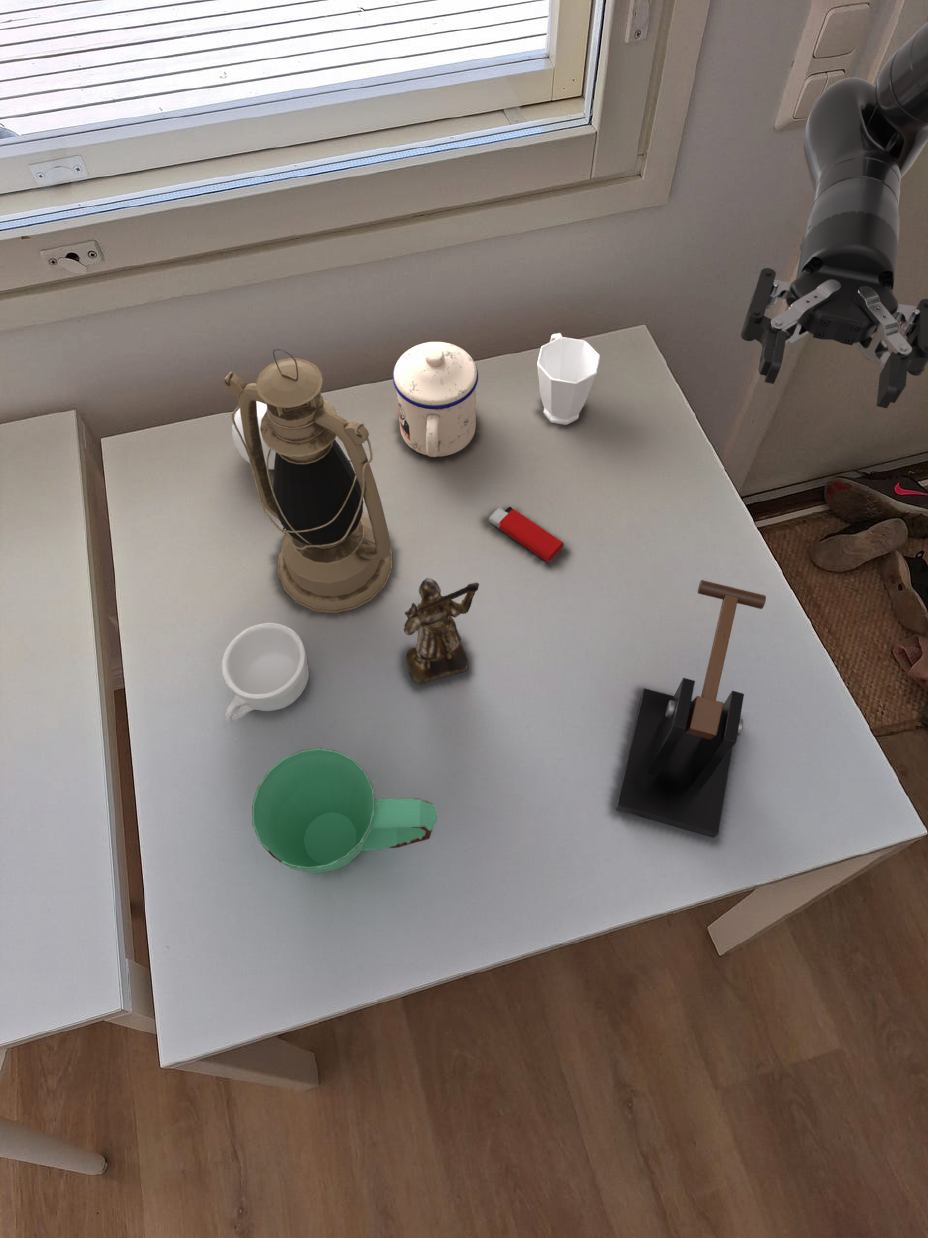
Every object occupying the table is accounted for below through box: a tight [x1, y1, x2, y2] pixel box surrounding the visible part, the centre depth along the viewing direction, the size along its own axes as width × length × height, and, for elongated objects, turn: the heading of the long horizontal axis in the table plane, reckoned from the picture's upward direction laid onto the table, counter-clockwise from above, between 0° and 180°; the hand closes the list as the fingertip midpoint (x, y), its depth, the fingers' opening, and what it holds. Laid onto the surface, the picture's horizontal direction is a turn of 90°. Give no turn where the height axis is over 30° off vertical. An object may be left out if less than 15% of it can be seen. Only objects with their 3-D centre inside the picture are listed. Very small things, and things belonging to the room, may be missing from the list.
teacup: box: [221, 622, 310, 724], centre depth 83 cm, size 10×8×5 cm
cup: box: [536, 332, 601, 426], centre depth 100 cm, size 7×10×8 cm
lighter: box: [488, 506, 565, 563], centre depth 94 cm, size 3×1×8 cm
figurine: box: [403, 577, 480, 685], centre depth 81 cm, size 7×4×15 cm, turn 107°
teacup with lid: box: [392, 341, 479, 458], centre depth 96 cm, size 12×9×12 cm
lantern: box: [222, 348, 393, 614], centre depth 80 cm, size 14×12×30 cm
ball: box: [231, 401, 276, 471], centre depth 96 cm, size 8×8×8 cm
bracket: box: [615, 677, 745, 839], centre depth 76 cm, size 12×9×13 cm
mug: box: [251, 747, 438, 874], centre depth 74 cm, size 15×10×10 cm
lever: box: [685, 579, 767, 740], centre depth 74 cm, size 13×6×2 cm, turn 163°
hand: (829, 387), depth 67 cm, fingers open, 8 cm apart
